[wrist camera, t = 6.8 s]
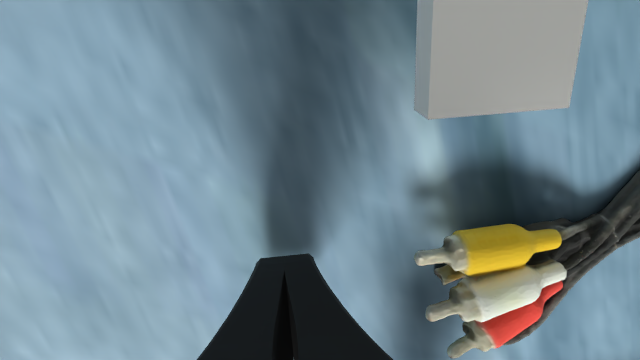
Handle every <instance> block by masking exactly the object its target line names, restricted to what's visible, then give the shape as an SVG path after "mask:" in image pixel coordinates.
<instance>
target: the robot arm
mask: <svg viewBox="0 0 640 360" xmlns="http://www.w3.org/2000/svg"><path fill="white" fill-rule="evenodd" d="M293 358H294V360H393V359H392V358H391V357H390V356H389V355H388V354H387V353H385V352H384V351H383V350H382V349H381V348H380V347H379V346H378V345H377V344H376V343H375V342H374V341H373V340H372V339H371V338H370V337H369V336H368V334H367V333H366V332H365V331H364V330H363V329H362V328H361V327H360V326H359V325H358V323H357V322H356V321H355V320H354V319H353V318H352V316H351V315H350V314H349V313H348V312H347V310H346V309H345V308H344V307H343V305H342V304H341V303H340V301H339V300H338V298H337V297H336V296H335V294H334V293H333V292H332V290H331V289H330V287H329V286H328V284H327V283H326V281H325V280H324V278H323V276H322V275H321V273H320V271H319V269H318V267H317V266H316V263H315V261H314V259H313V257H312V256H311V255H310V254H300V255H290V256H280V257H270V258H261V259H260V260H259V261H258V262H257V263H256V266H255V268H254V270H253V273H252V275H251V277H250V279H249V281H248V283H247V285H246V286H245V288H244V290H243V292H242V294H241V295H240V297H239V299H238V301H237V302H236V304H235V306H234V307H233V309H232V311H231V312H230V314H229V315H228V317H227V319H226V320H225V321H224V323H223V324H222V326H221V327H220V329H219V330H218V332H217V333H216V335H215V336H214V337H213V339H212V340H211V342H210V343H209V344H208V346H207V347H206V348H205V350H204V351H203V352H202V354H201V355H200V356H199V358H198V359H197V360H293Z"/></svg>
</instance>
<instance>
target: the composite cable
mask: <svg viewBox="0 0 640 360" xmlns="http://www.w3.org/2000/svg"><path fill="white" fill-rule="evenodd" d="M639 237H640V170H639V171H638V172H637V173H636V174H635V175H634V177H633V178H632V179H631V180H630V181H629V182H628V183H627V184H626V185H625V186H624V187H623V188H622V189H621V191H620V192H619V193H618V194H617V195H616V197H615V198H614V199H613V200H612V201H611V202H610V203H609V204H608V205H607V207H606V208H604V209H603V210H601V211H599V212H598V213H596V214H592V215H591V216H589V217H587V218H585V219H582V220H580V221H577V222H573V223H572V222H570V221H568V220H567V219H565V218H560V219H557V220H554V221H543V222H538V223H533V224H530V225H526V226H524V227H520V226H518V225H515V224H503V225H495V226H488V227H481V228H474V229H467V230H458V231H455V232H454V233H453V234H452V236H447V237H445V238H444V244H443V247H441V248H438V249H432V250H421V251H418V252H416V254H415V255H414V260H415V262H416V263H417V265H419V266H425V265H432V264H436V263H440V264H441V263H446V264H447V265H445V266H443V267H440V268H436V269H435V270H434V272H435V274H436V275H437V276H438V277H439V278H440V280H441V282H442V284H443V285H447V284H448V283H450V282H453V281H455V280H458V279H460V278H463V279H462V280H461V281H459V282H458V284H457V286H455V287H452V288H451V289H450V292H449V299H448V300H445V301H441V302H439V303H437V304H432V305H429V306H428V307H427V308H426V318H427V319H428V320H429V321H430V322H434V321H437V320H439V319H443V318H445V317H447V316H449V315H453V314H459V316H460V317H461V319H462V320H463V321H465V322H464V323H463V331H464V332H465V333H466V335H465V336H464V337H462V338H459V339H458V340H456V341H455V342H454V343H452V344H451V345H450V346H449V347H448V349H447V354H448V356H449V357H450V358H458V357H460V356H461V355H462V354H464V353H465V352H467V351H468V350H470V349H472V348H478V349H480V350H482V351H485V352H486V351H488V350H489V349H490V348H498V347H500V346H502V345H509V344H513V343H515V342H518V341H520V340H521V339H523V338H525V337H527V336H529V335H530V334H531V333H532V332H533V331H534V330H536V329H537V328H538V327H539V326H540V325H541V324H542V323H543V322H544V321H545V320H546V319H547V318H548V316H549V315H550V314H551V312H552V311H553V310H554V309H555V307H556V306H557V305H558V304H559V303H560V301H561V300H562V299H563V298H564V297H565V295H566V294H567V292H568V291H569V290H570V289H571V288H572V287H573V286H574V285H575V284H576V283H577V282H578V281H579V280H580V279H581V278H582V277H583V276H584V275H585V274H586V273H587V272H588V271H589V270H590V269H592V268H593V267H594V266H595V265H597V264H598V263H599V262H600V261H601V260H603V259H604V258H605V257H607V256H608V255H609V254H611V253H612V252H613V251H615V250H616V249H617V248H619V247H621V246H623V245H625V244H627V243H629V242H631V241H633V240H635V239H637V238H639Z"/></svg>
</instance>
